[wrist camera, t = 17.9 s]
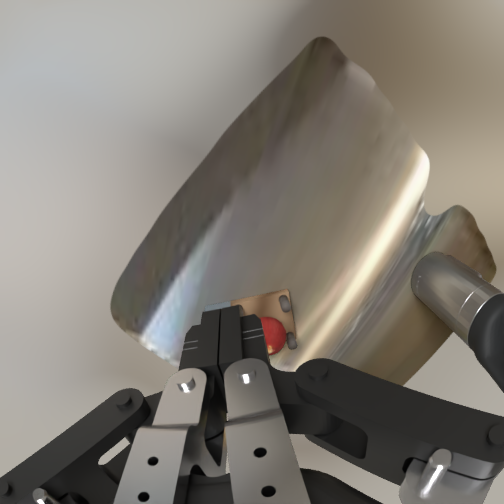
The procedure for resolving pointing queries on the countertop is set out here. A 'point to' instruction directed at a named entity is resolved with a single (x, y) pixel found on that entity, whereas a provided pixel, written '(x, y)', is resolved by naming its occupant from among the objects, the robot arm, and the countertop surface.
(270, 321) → the onion
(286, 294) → the pin seat
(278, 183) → the countertop surface
